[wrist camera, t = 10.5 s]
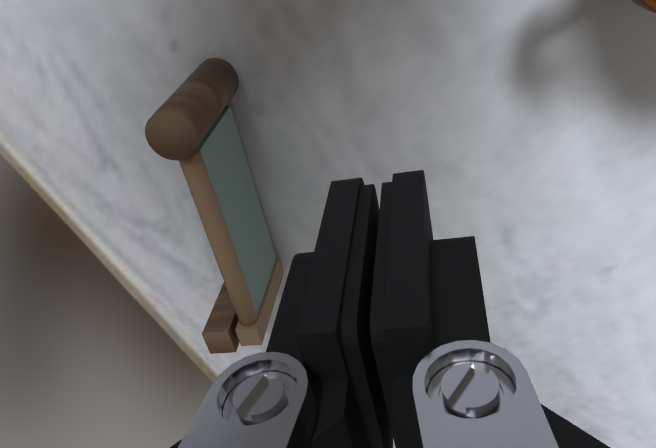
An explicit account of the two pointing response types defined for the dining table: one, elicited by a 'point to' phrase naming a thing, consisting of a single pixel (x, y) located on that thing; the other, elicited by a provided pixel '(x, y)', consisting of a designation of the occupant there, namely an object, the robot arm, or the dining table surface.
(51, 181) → the dining table surface
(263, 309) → the gate
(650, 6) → the mug
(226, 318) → the gate posts
